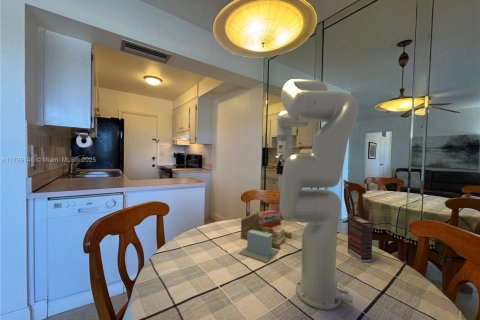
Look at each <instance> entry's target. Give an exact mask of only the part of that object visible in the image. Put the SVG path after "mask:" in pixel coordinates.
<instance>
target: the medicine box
mask: <svg viewBox="0 0 480 320" xmlns="http://www.w3.org/2000/svg"><path fill="white" fill-rule="evenodd" d="M258 212H259V226H263V227H267V228H274V227H278V226H281V222H282V221H281V217H282V216H281V213H280V211H276V210H273V209H269V210H265V211H258Z"/></svg>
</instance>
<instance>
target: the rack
mask: <svg viewBox="0 0 480 320" xmlns="http://www.w3.org/2000/svg"><path fill="white" fill-rule="evenodd" d="M259 212H260V211H256V212H254V213H251V214H249V215H247V216H244V217H242V218H241V219H240V226H241V227H240V239H241V240H244V239H245V240H244V241H247V235H248V231H250V230H255V231H258V230H259V232H263V233H266V232H267V234H271V235H272V234H273V230H275V229H276V228H273V227H271V228H267V227H263V226H259ZM292 234H293V233H291V232H288V231H285V233H284V235H285V239H292V238H293V235H292ZM272 249H275V250H278V251H279V250H281V244H280V243H278V242H274V241H272Z"/></svg>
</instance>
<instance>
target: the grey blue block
mask: <svg viewBox="0 0 480 320" xmlns="http://www.w3.org/2000/svg"><path fill="white" fill-rule="evenodd" d="M246 242H247V243H246V244H247V245H246V248H247V250H249V251H252V252H255V253H258V254H261V255H264V256H267V257H268V256H269V255H270V254H271V253H272V249H273V248H272V234H270V233H266V232H262V231H258V230H257V231H255V230H250V231H248V235H247V240H246Z"/></svg>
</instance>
